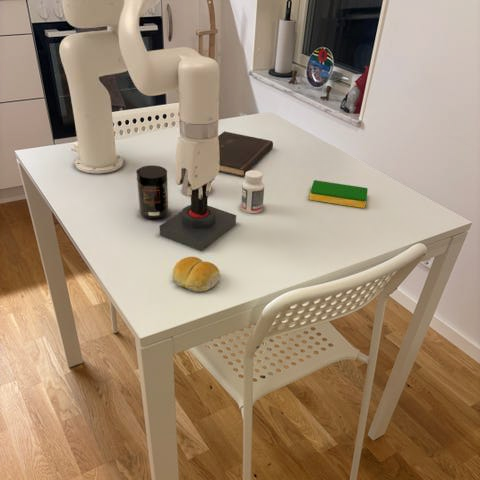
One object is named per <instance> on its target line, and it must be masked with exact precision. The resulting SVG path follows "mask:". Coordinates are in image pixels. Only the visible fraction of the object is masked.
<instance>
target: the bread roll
mask: <svg viewBox="0 0 480 480" xmlns="http://www.w3.org/2000/svg"><path fill="white" fill-rule="evenodd" d="M172 276H173V277H172V278H173V281H174V282H175V283H176V284H177V286H179V287H181V288H186V289H187V290H189V291H192V292H205V291H209V290H210V289H211V288H213V287H214V286H216V285H217V284H218V282H219V281H220V279H221V274H220V269H219V268H218V266H217V265H216V264H214V263H212V262H209V261H203V260H202V259H201V258H199V257H197V256H186V257H183V258H181V259H180V260H178V261H177V262H176V263H175V264H174V267H173V271H172Z"/></svg>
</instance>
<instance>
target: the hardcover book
mask: <svg viewBox="0 0 480 480" xmlns="http://www.w3.org/2000/svg"><path fill="white" fill-rule="evenodd" d="M218 139H219V154H220V164H219V173H222V174H226V175H231V176H235V177H240V178H244V177H245V173H246V172H247V171H250V170H252V169H253V168H254V167H255V166H256V165H257V164H258V163H259V162H260V161H261V160H262V158H264V157H265V155H267V154H268V153H269V152H270V151H271V150H272V149H273V147H274V142H273V141H272V140H270V139H264V138H259V137H255V136H249V135H245V134H240V133H234V132H229V131H222V132H221V133H220V134H218Z"/></svg>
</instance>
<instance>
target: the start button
mask: <svg viewBox="0 0 480 480" xmlns="http://www.w3.org/2000/svg"><path fill="white" fill-rule="evenodd" d="M208 215H209V211H208V210H207V213H206V214H204V215H199V214H196V213H193V212H192V211H191V209H190V210H189V216H192V217H195V218H202V217H207V216H208Z"/></svg>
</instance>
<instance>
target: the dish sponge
mask: <svg viewBox="0 0 480 480" xmlns="http://www.w3.org/2000/svg"><path fill="white" fill-rule="evenodd" d="M367 198H368V187H365V186H364V187H363V186H357V185H351V184H344V183H343V184H342V183H337V182H336V183H335V182H329V181H323V180H317V179H316V180H315V179H314V180H313V181H312V185H311V188H310V193H309V200H310V201H315V202H321V203H322V202H323V203H329V204H334V205H342V206H349V207H354V208H361V209H365V208H366V204H367Z"/></svg>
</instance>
